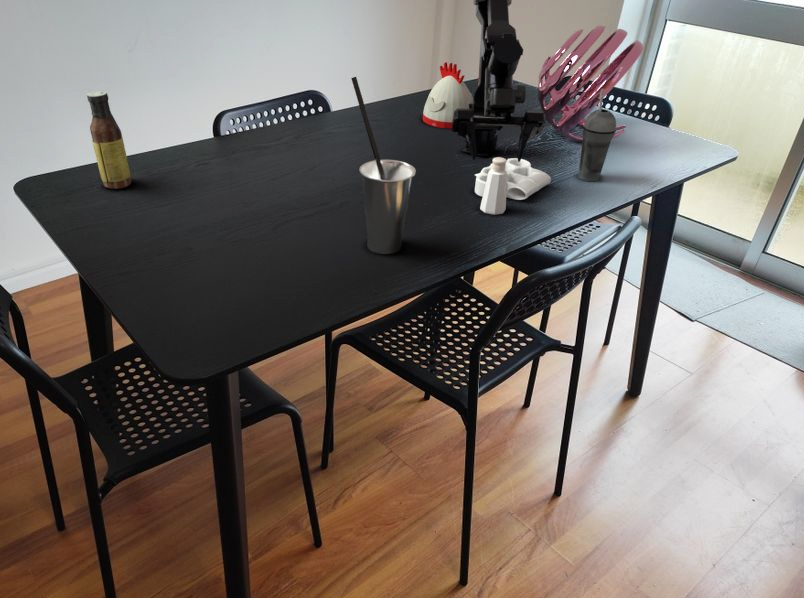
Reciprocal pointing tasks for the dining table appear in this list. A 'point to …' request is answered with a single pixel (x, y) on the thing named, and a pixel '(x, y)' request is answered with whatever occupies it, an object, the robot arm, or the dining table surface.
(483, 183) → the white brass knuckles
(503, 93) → the robot arm
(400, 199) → the steel tumbler with stirrer
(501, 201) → the salt shaker
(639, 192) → the dining table surface
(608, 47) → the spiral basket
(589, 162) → the beverage cup
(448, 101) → the kitchen timer
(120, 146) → the sauce bottle
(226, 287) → the dining table surface
